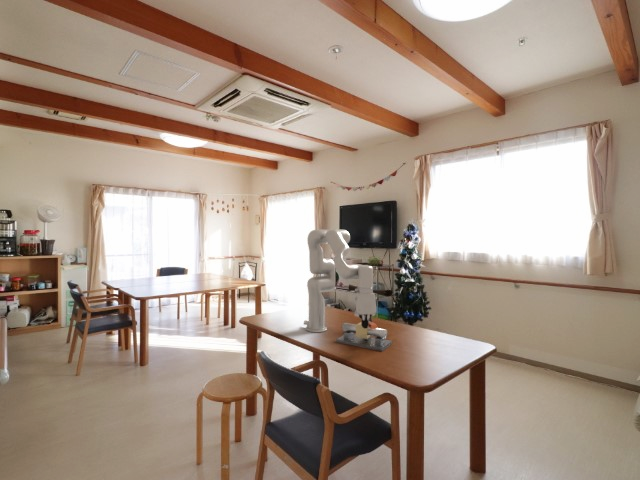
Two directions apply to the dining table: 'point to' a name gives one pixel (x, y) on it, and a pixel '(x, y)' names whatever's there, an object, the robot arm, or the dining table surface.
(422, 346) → the dining table surface
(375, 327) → the lever
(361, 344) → the valve base
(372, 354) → the dining table surface
